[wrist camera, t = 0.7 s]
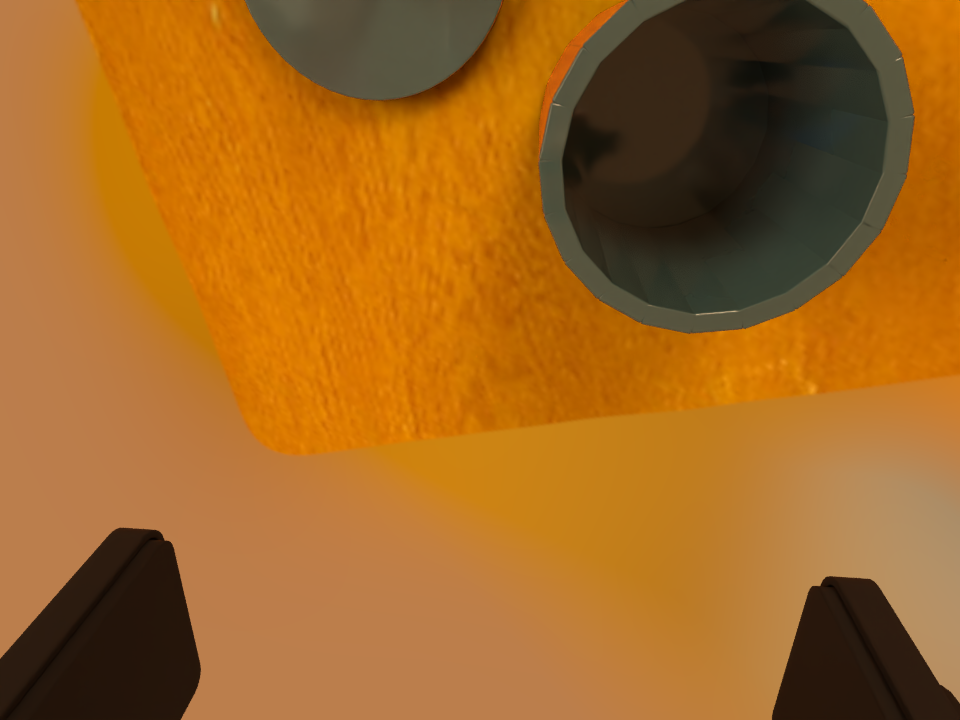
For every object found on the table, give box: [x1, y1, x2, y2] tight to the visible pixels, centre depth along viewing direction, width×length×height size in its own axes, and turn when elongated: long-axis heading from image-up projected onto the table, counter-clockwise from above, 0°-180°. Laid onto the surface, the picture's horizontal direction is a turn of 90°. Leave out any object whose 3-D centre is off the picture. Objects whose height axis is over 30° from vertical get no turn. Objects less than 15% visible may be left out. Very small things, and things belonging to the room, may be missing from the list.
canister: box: [538, 0, 915, 334], centre depth 25 cm, size 10×10×12 cm
